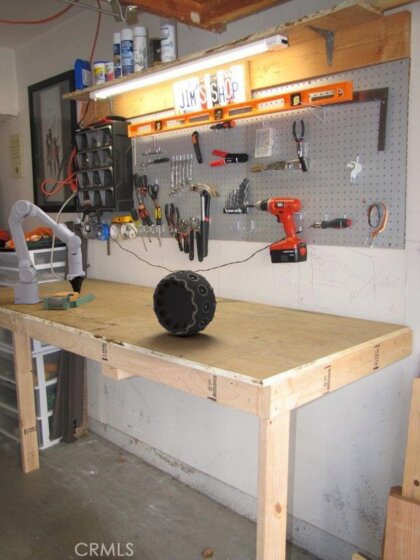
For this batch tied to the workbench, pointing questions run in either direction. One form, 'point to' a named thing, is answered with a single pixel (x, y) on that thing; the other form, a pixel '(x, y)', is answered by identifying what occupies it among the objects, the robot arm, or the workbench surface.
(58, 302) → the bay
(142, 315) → the workbench surface
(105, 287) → the workbench surface
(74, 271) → the robot arm
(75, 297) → the orange square block
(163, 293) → the dark studded ball
